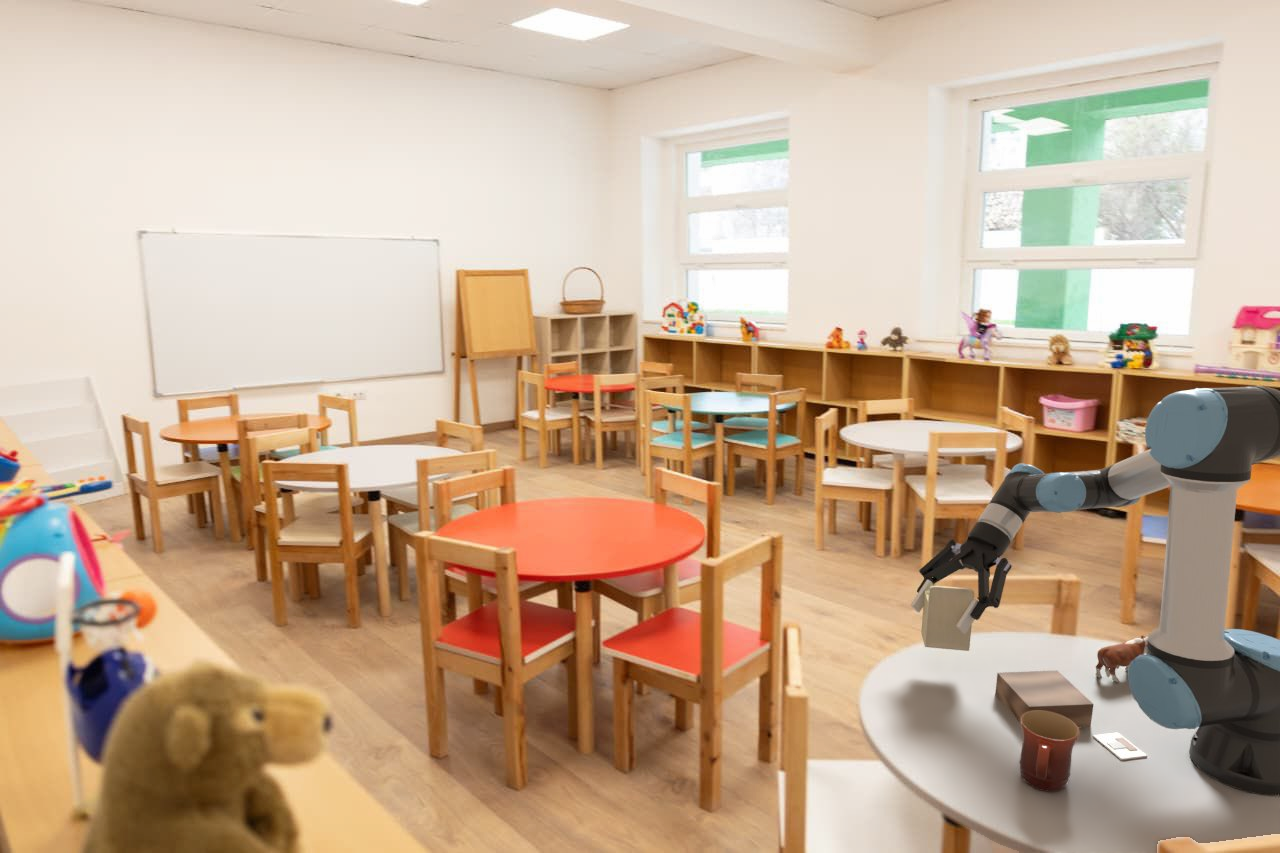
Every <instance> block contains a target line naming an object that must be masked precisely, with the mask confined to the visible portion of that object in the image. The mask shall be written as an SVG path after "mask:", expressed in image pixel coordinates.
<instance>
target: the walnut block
mask: <svg viewBox="0 0 1280 853" xmlns="http://www.w3.org/2000/svg"><path fill="white" fill-rule="evenodd" d="M995 684H996V685H995V696H996V697H997V698H998V699H999V701H1000V702H1001V701H1002V702H1001V703H1002V704H1003V705H1004V706H1005V707H1006V708H1007V709H1008V711H1009V712H1010V713H1011V714H1012V715H1013V716H1014V717H1015V719H1016V720H1017V721H1018V722H1019V723H1020V717H1021V715H1022V714H1023V713H1025V712H1027V711H1032V710H1044V711H1050V712H1054V713H1057V714H1060V715H1063V716H1065V717H1067V718H1068V719H1070V720H1072V721H1073V722H1074V723H1075V724H1076V725H1077V726H1078V727H1081V728H1091V726H1092V719H1093V712H1094V711H1093V710H1094V703H1093V702H1092V701H1091V700H1090V699H1089V698H1087V696H1086V695H1084V693H1083V692H1081V691H1080V690H1079V689H1078V688H1077V687H1076V686H1075V685H1074V684H1072V683H1071V681H1070V680H1068V679H1067V678H1066V677H1065V676H1064V675H1063V674H1062V673H1061V672H1060V671H1059V670H1039V671H1038V670H1035V671H1008V672H1007V671H1006V672H997V674H996V683H995Z"/></svg>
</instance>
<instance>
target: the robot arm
mask: <svg viewBox="0 0 1280 853" xmlns="http://www.w3.org/2000/svg"><path fill="white" fill-rule="evenodd" d="M1145 423H1146V424H1145V428H1144V439H1145V440H1144V441H1145V445H1146V447H1147V448H1148V449H1146V450H1145V451H1142V452H1139V453H1138V454H1135V455H1132V456H1130V457H1127V458H1126V459H1123V460H1120V461H1118V462H1116V463H1114V464H1112V465H1109V466H1108V465H1107V467H1104V468H1101V469H1093V470H1082V471H1081V470H1078V471H1065V472H1064V471H1063V472H1062V471H1058V472H1049V473H1045V472H1044V471H1043V470H1041V469H1039V468H1038V467H1036V466H1034V465H1032V464H1027V463H1022V462H1021V463H1017V464H1016V465H1014V466H1013V467H1012V469H1011V470H1009V472H1008V473H1007V474H1006V475H1005V477H1004V479H1003V480H1002V482H1001V484H1000V485H999V487H998V489H997V490H996V492H995V493H994V495H993V497H992V498H991V500H990V501H989V503H988V504H987V506H986V507H985V508H984V510H983V512H982V513H981V515H980V516H979V517H978V522H975V524H974V525H973V527H972V529H971V530H970V532H969V533H968V536H967V539H966V541H965V542H963V543H959V542H956V541H955V540H954V539H950V540H949V541H948V542H947V544H946V546H945V547H944V548H943V549H941V551H939V552H937V554H936V555H935V556H934V557H932V559H930V560H929V561H928V562H926V564H925V565H924V566H922V567H921V568H920V569H919V570H918V571H919V574H920V575H921V576H922V577H923V580H922V582H921V583H920V585H919V587H917V591H916V592H917V594H916V595H915V597H914V599H913V600H912V601H911V603H910V606H911V608H913V610H914V611H915V612H916V613H920V612H921V611H922V610H923V605H924V592H925V590H929V588H930V587H931V586H936V585H935V584H936V583H939V582H940V581H942V580H943V579H945V578H947V577H949V576H951V575H952V574H954V573H955V572H958V571H960V570H964V569H968V570H974V571H975V572H976V573H977V584H978V585H977V588H978V590H977V593H978V595H977V596H976V598H977V599H975V598H974V599H973V600H972V602H971V604H970V605H969V607H968V608H967V610H966V611H965V613H964V614H963V616H962V618H961V619H960V621H959V622H958V624H957V625H956V626H957V627H958V629H959V630H960V631H961V632H962V633H964V634H966V632H967V631H968V629H969V628H970V626H971V624H972V625H973V623H974V622H975V620H976V621H978V620H980V618H981V617H982V615H983V613H984V612H985V611H986V609H987V608H990V607H991V608H992V607H993V608H994V609H998V608H999V607H1000V605H1001V599H1002V596H1003V591H1004V587H1005V583H1006V579H1007V575H1008V573H1009V572H1010V571H1011V569H1012V567H1013V565H1012V564H1011V563H1010V562H1009V560H1008V559H1007V557H1002V556H1003V555H1004V554H1005V552H1006V551H1007V549H1008V547H1009V546H1010V544H1011V540H1014V537H1015V536H1016V534H1017V533H1018V532H1019V530H1020V529H1021V527H1022V525H1023V524H1024V522H1025V521H1026V519H1027V518H1028V516H1029V515H1030V513H1031V512H1032V513H1033V512H1035V513H1039V512H1041V513H1042V512H1043V513H1047V512H1048V513H1056V514H1060V513H1068V512H1069V513H1070V512H1074V511H1080V510H1087V509H1088V510H1091V509H1101V508H1123V507H1127V506H1132V505H1135V504H1136V503H1138V502H1139V500H1140V499H1141V498H1142V497H1144V496H1147V495H1150V494H1153V493H1156V492H1158V491H1161V490H1164V489H1167V488H1170V489H1169V500H1168V501H1169V502H1168V515H1167V516H1168V517H1167V526H1166V527H1167V530H1166V540H1165V541H1166V543H1165V554H1164V568H1163V578H1162V579H1163V580H1162V594H1161V595H1162V596H1161V603H1160V604H1161V606H1160V618H1159V619H1160V620H1159V627H1157V628H1156V629H1154V630H1152V631H1151V632H1150V633H1148V635H1147V637H1148V643H1147V653H1146V654H1144V655H1139V656H1138V657H1136V658H1135V659H1134V660H1132V661H1131V663H1130V665H1129V668H1128V671H1127V679H1128V681H1127V682H1128V686H1129V689H1130V692H1131V695H1132V697H1133V699H1134V701H1136V703H1137V705H1138V707H1139V709H1140V710H1141V711H1142V712H1143V714H1145V716H1146V717H1148V718H1149V719H1150V720H1151V721H1152V722H1154V723H1155V724H1157V725H1159V726H1161V727H1163V728H1165V729H1170V730H1181V729H1182V730H1183V729H1186V730H1195V729H1196V731H1195V732H1194V734H1193V735H1192V737H1191V740H1190V745H1189V751H1188V752H1189V757H1190V759H1191V761H1192V762H1193V763H1194V764H1195V766H1196V767H1198V768H1199V769H1200V770H1201V771H1203V772H1204V773H1205V774H1206V775H1208V776H1210V777H1211V778H1213V779H1215V780H1217V781H1219V782H1221V783H1223V784H1225V785H1227V786H1230V787H1232V788H1235V789H1238V790H1242V791H1245V792H1248V793H1253V794H1257V795H1265V796H1280V639H1278V638H1276V637H1273V636H1270V635H1267V634H1263V633H1260V632H1257V631H1252V630H1247V629H1240V628H1229V629H1225V628H1226V620H1227V619H1226V618H1227V607H1228V595H1229V586H1230V585H1229V584H1230V583H1229V582H1230V573H1231V564H1232V563H1231V562H1232V552H1233V540H1234V531H1235V530H1234V529H1235V518H1236V516H1235V515H1236V509H1237V508H1236V507H1237V506H1236V505H1237V497H1238V496H1237V494H1238V491H1239V489H1241V488H1242V487H1243V486H1245V485H1246V484H1248V483H1249V482H1251V477H1252V469H1253V468H1252V467H1253V466H1252V465H1256V464H1259V463H1262V462H1265V461H1269V460H1274V459H1277V458H1280V390H1279V389H1276V388H1274V387H1269V386H1264V385H1250V386H1248V385H1247V386H1240V387H1239V386H1236V387H1235V386H1234V387H1233V386H1232V387H1207V388H1206V387H1202V388H1199V387H1196V388H1193V389H1192V388H1191V389H1187V390H1180V391H1175V392H1173V393H1170V394H1167V395H1166V396H1165V397H1163V398H1162V400H1160V401H1159V402H1157V403H1156V404H1155V406H1153V408H1152V410H1151V412H1150V413H1149V415H1148V417H1147V420H1146V422H1145ZM1001 557H1002V558H1001ZM994 566H995V569H994V570H995V571H994V573H993V577H992V581H991V585H990V578H991V568H992V567H994Z"/></svg>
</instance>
